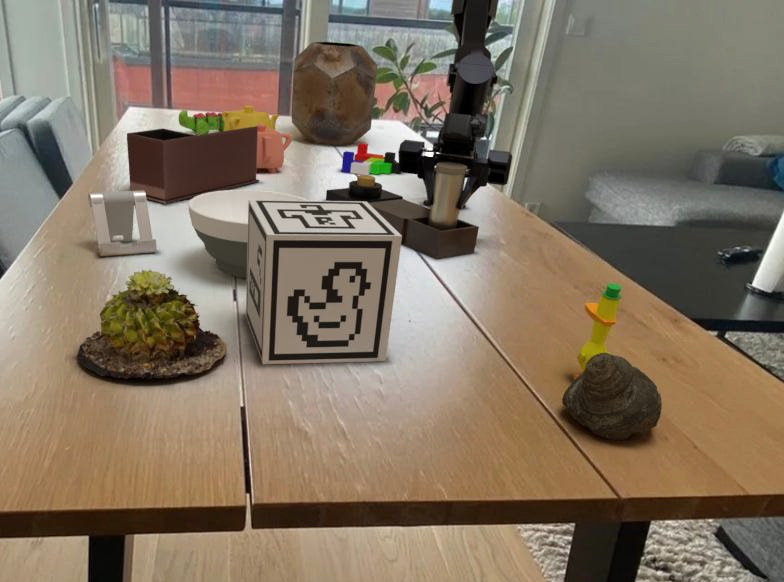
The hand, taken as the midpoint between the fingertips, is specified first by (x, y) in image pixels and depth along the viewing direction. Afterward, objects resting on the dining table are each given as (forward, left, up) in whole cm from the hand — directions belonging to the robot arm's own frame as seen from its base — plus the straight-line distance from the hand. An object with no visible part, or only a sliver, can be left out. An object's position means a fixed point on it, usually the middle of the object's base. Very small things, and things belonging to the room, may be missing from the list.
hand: (444, 206), depth 128 cm
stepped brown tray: (-1, -7, -7) cm, 10 cm away
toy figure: (+19, +47, -8) cm, 51 cm away
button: (-8, -30, -4) cm, 31 cm away
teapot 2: (-5, -65, -8) cm, 66 cm away
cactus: (+61, +18, -8) cm, 64 cm away
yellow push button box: (-8, -30, -7) cm, 32 cm away
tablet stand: (+48, -21, -8) cm, 54 cm away
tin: (-1, -1, -7) cm, 7 cm away
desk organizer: (+19, -54, -8) cm, 57 cm away
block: (+41, +22, -8) cm, 47 cm away
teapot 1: (-14, -85, -8) cm, 87 cm away
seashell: (+24, +56, -8) cm, 61 cm away
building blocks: (-32, -56, -8) cm, 65 cm away
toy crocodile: (-16, -108, -8) cm, 110 cm away
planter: (-43, -90, -8) cm, 100 cm away
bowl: (+34, -4, -8) cm, 36 cm away
